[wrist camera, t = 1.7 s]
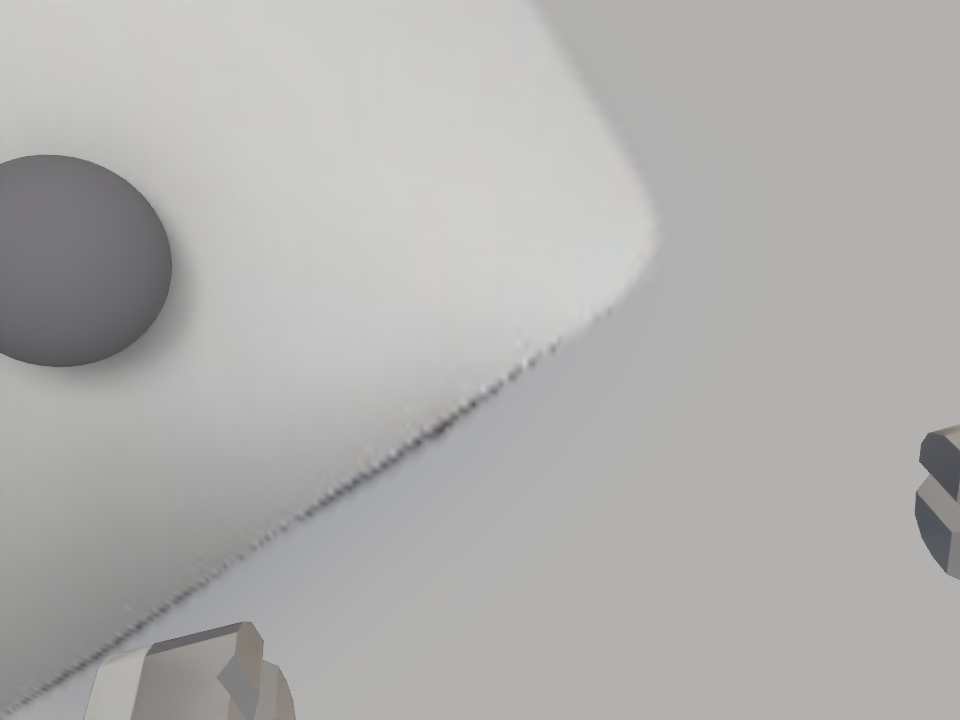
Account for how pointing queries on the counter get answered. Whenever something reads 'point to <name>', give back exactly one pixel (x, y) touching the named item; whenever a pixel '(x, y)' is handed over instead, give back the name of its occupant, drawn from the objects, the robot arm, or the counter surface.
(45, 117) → the counter surface
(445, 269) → the counter surface
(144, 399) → the counter surface
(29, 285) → the gray ball
